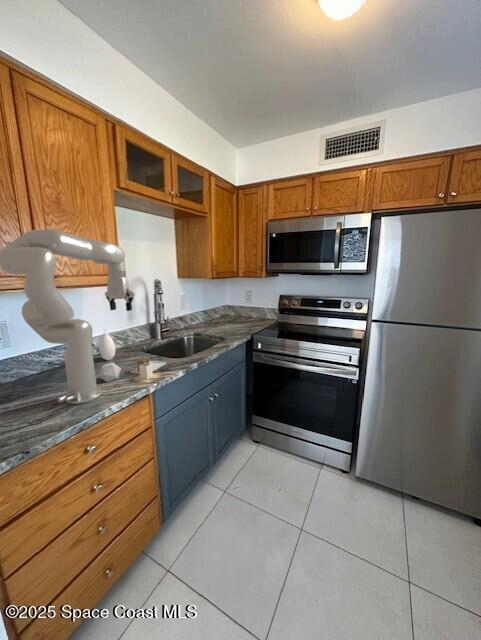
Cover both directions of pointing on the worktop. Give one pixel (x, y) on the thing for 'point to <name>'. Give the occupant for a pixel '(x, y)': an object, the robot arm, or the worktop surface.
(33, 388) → the worktop surface
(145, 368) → the label box
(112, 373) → the die
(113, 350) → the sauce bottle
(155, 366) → the tray
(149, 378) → the pad
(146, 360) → the walnut block
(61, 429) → the worktop surface
